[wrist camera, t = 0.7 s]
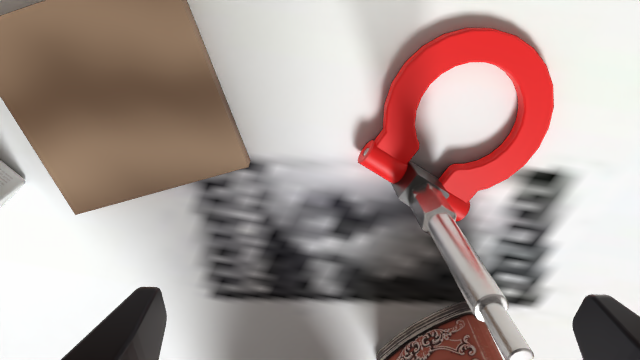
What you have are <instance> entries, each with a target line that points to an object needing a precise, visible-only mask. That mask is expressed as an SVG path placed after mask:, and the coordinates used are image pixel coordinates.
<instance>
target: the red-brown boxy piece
mask: <svg viewBox="0 0 640 360" xmlns="http://www.w3.org/2000/svg"><path fill="white" fill-rule="evenodd" d="M376 358H377V360H503V359H502V357H501V355H500V353H499V351H498V349H497V346H496V344H495V342H494V340H493V338H492V336H491V334H490V332H489V330H488V327H487V326H486V324H485V322H482V321H479V320H477V319H476V318H475V317H474V315H473V313H472V311H471V310H470V308H469V306H468V304H467V302H460V303H456V304H454V305H451V306H449V307H447V308H444V309H442V310H440V311H437V312H435V313H433V314H431V315H429V316H427V317H425V318H424V319H422V320H420V321H418V322H416V323H414V324H413V325H411V326H410V327H408V328H407V329H405V330H404V331H403V332H401V333H400V334H398V335H397V336H395V337H394V338H393V339H392V340H391V341H389V342H388V343H387V344H386V345H385V346H384V347H382V348H381V349H380V350H379V352H378V353H377V357H376Z"/></svg>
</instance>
